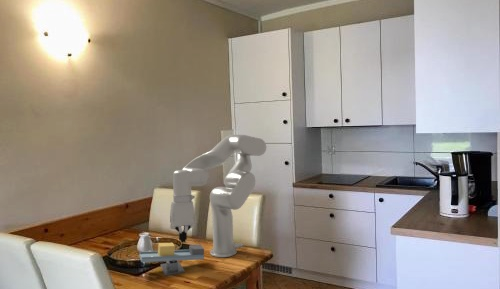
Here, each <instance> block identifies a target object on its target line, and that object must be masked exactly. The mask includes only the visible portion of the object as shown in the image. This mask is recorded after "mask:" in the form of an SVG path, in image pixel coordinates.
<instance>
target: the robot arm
mask: <svg viewBox="0 0 500 289" xmlns="http://www.w3.org/2000/svg"><path fill="white" fill-rule="evenodd" d="M266 151H267V143H266V142H265V141H264V140H263V139H262V138H259V137H255V136H250V135H246V134H228V135H226V136H224V138H222V140H220V141H219V142H218V143H216V145H215V146H214V147H213V148H212V149H211V150H210V151H207V152H205V153H202V155H199V156H197V157H195V158H194V159H192V160H191V161H190V162H188V163H187V164H186V165H185V166H184V167H182V169H176V170H175V171H173V174H172V175H173V176H172V179H173V180H172V181H173V182H172V184H173V185H172V186H173V188H172V190H173V195H172V196H173V201H171V204H170V210H169V211H170V212H169V213H170V214H169V223H170V226H169V228H170V229H171V230H176V231H177V232H178V240H179V241H180V242H181V243H186V242H187V239H188V238H187V237H188V235H187V234H188V231H189V230H190V229H192V228H195V227H196V215H195V214H196V213H195V207H194V206H195V205H194V202H193V199H196V198H195V195H193V194H192V187H202V186H205V185H206V184H208V182H209V181H210V174H209V172H208V171H207V170H209V169H213V168H217V167H220V166H222V165H224V164H225V162H227V160H228V159H229V158H231V157H232V156H233V155H234V154H235V153H236V161H235V163H234V164H233V166H232V167H231V168H230V170H229V171H228V173H227V174H226V176H225V177H224V180H223V185H224V186H217V187H214V188H213V189H212V190H211V191H210V193H209V203H210V207H211V215H212V216H211V217H212V243H213V244H212V249H211V250H210V251H209V253H210V256H212V257H215V258H229V257H232V256H235V255H236V254H237V253H238V252H237V251H238V250H237V249H239V248H243V247H244V244H243V243H242V242H241V243H239V242H234V228H233V227H234V225H233V224H234V223H233V222H234V220H233V212H232V210H235V211H236V210H239V209H240V208H242V207H243V205H245V203H246V202H247V200H248V198H249V197H250V195H251V194H252V192H253V190H254V188H255V186H256V176H255V175H254V174H253V173H252V169H253V168H252V167H253V163H252V160H251V156H255V157H260V156H263V155H264V154H265V153H266ZM182 227H183V228H182Z"/></svg>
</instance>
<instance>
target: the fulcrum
mask: <svg viewBox="0 0 500 289" xmlns="http://www.w3.org/2000/svg"><path fill="white" fill-rule="evenodd" d="M160 268H161V269H162V272H163V274H164V276H172V275H179V274H184V273H185V269H184V268H183V265H182V263H181V261H180V260H178V261H175V262H173V261H165V263H160Z"/></svg>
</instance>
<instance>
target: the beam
mask: <svg viewBox="0 0 500 289" xmlns="http://www.w3.org/2000/svg"><path fill="white" fill-rule="evenodd" d="M188 246H189V247H188V249H175V250H174V255H172V256H159V255H158V250H153V251H141V250H140V251H139V254H138V255H139V260H140V262H141V263H152V262H153V263H154V262H155V263H156V262H166V261H173V262H175V261H177V262H178V261H198V260H205V248H204V247H203V246H202V245H201V244H190V245H188Z"/></svg>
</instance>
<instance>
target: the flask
mask: <svg viewBox="0 0 500 289" xmlns="http://www.w3.org/2000/svg"><path fill="white" fill-rule="evenodd" d="M142 251H154V249H153V246H152V243H151V235H145V236H143V247H142Z"/></svg>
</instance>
